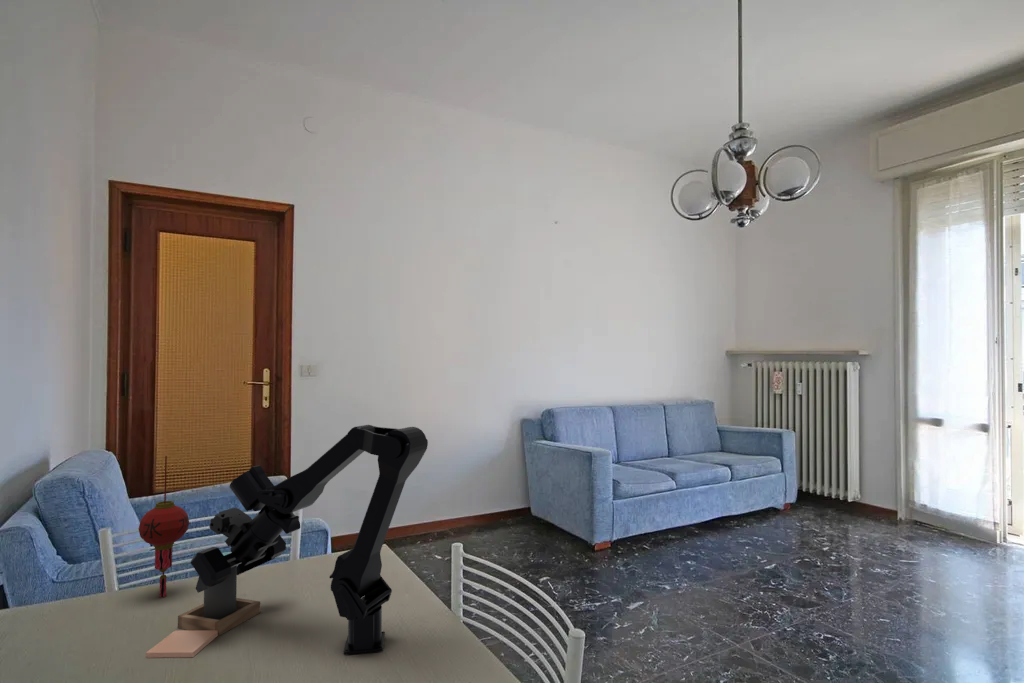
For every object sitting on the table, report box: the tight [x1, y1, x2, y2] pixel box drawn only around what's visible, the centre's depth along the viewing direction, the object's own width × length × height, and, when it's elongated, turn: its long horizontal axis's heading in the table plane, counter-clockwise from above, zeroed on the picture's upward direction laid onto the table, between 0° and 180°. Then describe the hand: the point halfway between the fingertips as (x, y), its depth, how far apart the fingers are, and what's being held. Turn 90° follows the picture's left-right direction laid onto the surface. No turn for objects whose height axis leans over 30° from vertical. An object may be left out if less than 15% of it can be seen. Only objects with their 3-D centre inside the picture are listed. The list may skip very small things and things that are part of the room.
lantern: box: [138, 455, 190, 598], centre depth 120 cm, size 10×10×30 cm
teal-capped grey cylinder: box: [203, 552, 238, 620], centre depth 108 cm, size 6×6×12 cm
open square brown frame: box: [177, 597, 261, 636], centre depth 108 cm, size 10×10×2 cm
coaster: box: [145, 630, 219, 659], centre depth 98 cm, size 8×8×1 cm
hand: (217, 581), depth 108 cm, fingers open, 9 cm apart
